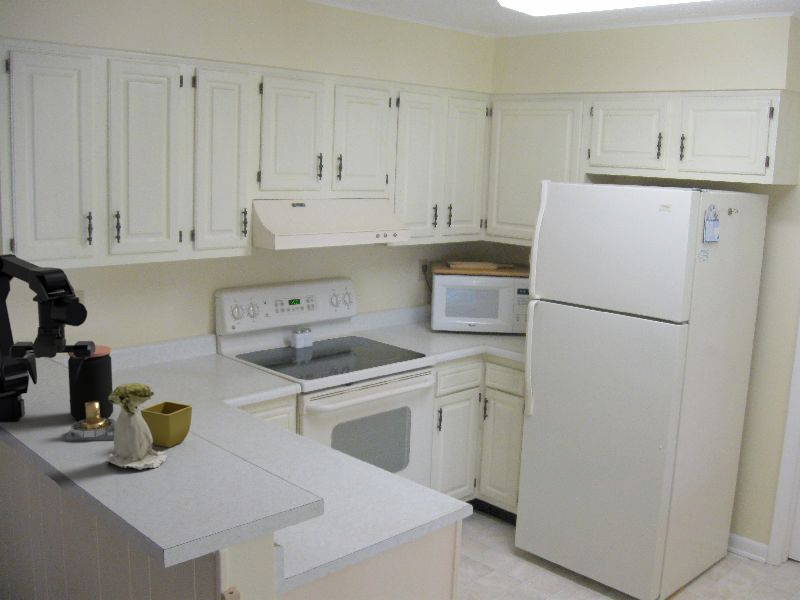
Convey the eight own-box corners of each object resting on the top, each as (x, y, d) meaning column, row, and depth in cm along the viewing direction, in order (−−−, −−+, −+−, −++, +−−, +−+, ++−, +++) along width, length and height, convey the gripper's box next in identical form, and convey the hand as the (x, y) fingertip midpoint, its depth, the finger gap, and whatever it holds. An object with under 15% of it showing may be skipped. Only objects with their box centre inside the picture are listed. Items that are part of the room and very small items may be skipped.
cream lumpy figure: (141, 476, 185) (137, 393, 182) (95, 466, 190) (91, 386, 187) (176, 458, 195) (173, 380, 192) (132, 450, 201) (128, 374, 198)
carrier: (66, 441, 206) (65, 431, 205) (77, 427, 216) (76, 418, 216) (146, 439, 208) (146, 429, 208) (154, 425, 218) (153, 416, 218)
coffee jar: (121, 411, 230) (118, 346, 227) (100, 423, 219) (97, 355, 216) (84, 409, 231) (81, 344, 228) (62, 420, 221) (59, 352, 218)
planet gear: (79, 435, 207) (77, 407, 206) (81, 427, 213) (79, 400, 212) (106, 432, 209) (104, 405, 208) (108, 424, 215) (106, 398, 214)
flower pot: (141, 445, 204) (139, 409, 202) (166, 435, 211) (165, 400, 210) (169, 452, 200) (167, 415, 198) (194, 441, 207) (193, 405, 206)
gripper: (-1, 328, 197) (4, 393, 200) (83, 327, 199) (86, 392, 202) (15, 318, 208) (19, 380, 211) (94, 318, 210) (97, 379, 213)
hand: (55, 383), depth 209 cm, fingers open, 9 cm apart
